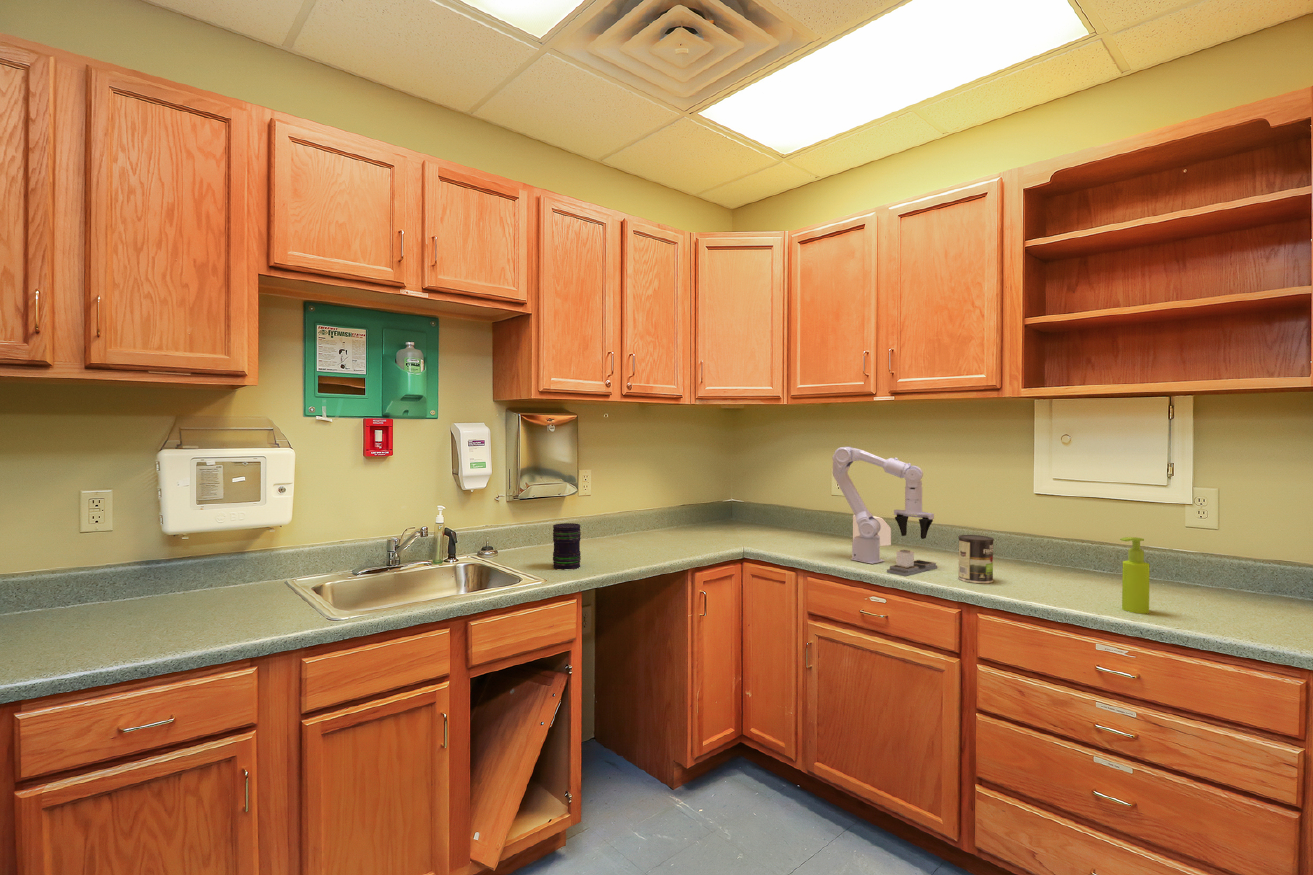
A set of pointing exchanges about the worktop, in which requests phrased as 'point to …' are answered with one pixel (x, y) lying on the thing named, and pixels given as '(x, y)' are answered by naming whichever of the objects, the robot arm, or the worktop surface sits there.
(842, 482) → the robot arm
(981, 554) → the coffee can
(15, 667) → the worktop surface
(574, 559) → the storage jar
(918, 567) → the rail
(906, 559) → the block
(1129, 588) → the soap dispenser
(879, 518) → the corner bracket
